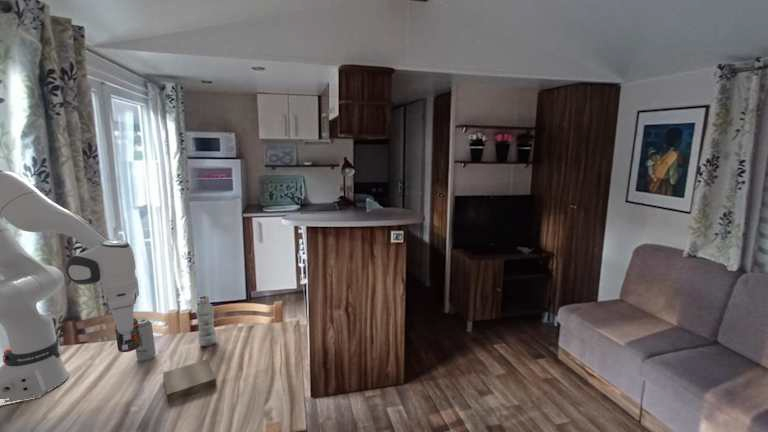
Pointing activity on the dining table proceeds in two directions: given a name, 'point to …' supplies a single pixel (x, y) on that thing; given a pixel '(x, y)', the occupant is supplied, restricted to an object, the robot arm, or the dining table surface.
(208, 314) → the plastic bottle
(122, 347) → the supplement bottle
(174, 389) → the beige flat square block
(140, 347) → the energy drink can
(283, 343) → the dining table surface
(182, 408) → the dining table surface
